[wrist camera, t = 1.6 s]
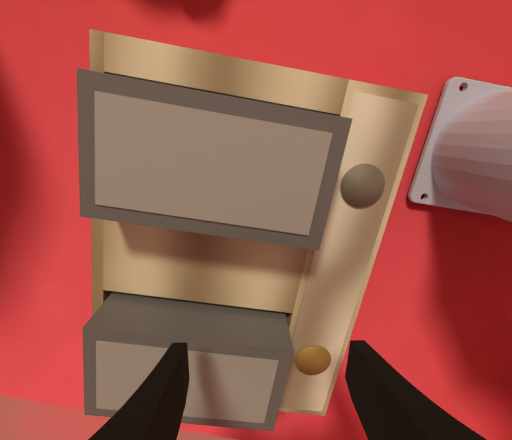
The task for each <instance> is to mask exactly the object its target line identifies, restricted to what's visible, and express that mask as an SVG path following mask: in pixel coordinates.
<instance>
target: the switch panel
mask: <svg viewBox="0 0 512 440" xmlns="http://www.w3.org/2000/svg"><path fill="white" fill-rule="evenodd" d="M89 31H90V71H96V72H101V73H107V74H112V75H117V76H123V77H128V78H134V79H139V80H145V81H150V82H156V83H161V84H167V85H172V86H178V87H183V88H188V89H194V90H199V91H205V92H210V93H216V94H221V95H227V96H232V97H238V98H243V99H248V100H254V101H259V102H265V103H270V104H276V105H281V106H287V107H292V108H298V109H303V110H309V111H314V112H319V113H325V114H330V115H336V116H341V117H347V118H352V123H351V127H350V131H349V135H348V139H347V143H346V147H345V151H344V155H343V159H342V163H341V166H340V170H339V174H338V178H337V182H336V186H335V190H334V194H333V198H332V202H331V206H330V210H329V214H328V218H327V222H326V226H325V230H324V233H323V237H322V241H321V245H320V249H319V250H313V249H306V248H299V247H292V246H285V245H278V244H271V243H264V242H256V241H249V240H242V239H235V238H228V237H221V236H214V235H207V234H200V233H193V232H186V231H179V230H172V229H165V228H158V227H151V226H144V225H137V224H130V223H123V222H116V221H109V220H102V219H95V218H91V228H92V316H93V315H94V314H95V312H96V311H97V310H98V309H99V308H100V306H101V305H102V304H103V303H104V301H105V300H106V299H107V298H108V297H109V295H110V294H111V293H112V292H113V291H115V292H123V293H131V294H139V295H148V296H156V297H164V298H172V299H180V300H188V301H196V302H205V303H213V304H221V305H229V306H237V307H245V308H253V309H262V310H270V311H278V312H285V313H286V318H287V323H288V328H289V332H290V337H291V342H292V346H293V351H294V352H293V356H292V360H291V363H290V367H289V371H288V375H287V379H286V383H285V387H284V391H283V395H282V399H281V403H280V407H279V411H280V412H290V413H301V414H312V415H322V416H325V414H326V410H327V407H328V404H329V401H330V398H331V395H332V392H333V389H334V386H335V382H336V379H337V376H338V373H339V370H340V367H341V364H342V361H343V358H344V355H345V351H346V348H347V345H348V342H349V339H350V336H351V333H352V330H353V327H354V323H355V320H356V317H357V314H358V311H359V308H360V305H361V302H362V299H363V296H364V292H365V289H366V286H367V283H368V280H369V277H370V274H371V271H372V268H373V264H374V261H375V258H376V255H377V252H378V249H379V246H380V243H381V240H382V237H383V233H384V230H385V227H386V224H387V221H388V218H389V215H390V212H391V209H392V205H393V202H394V199H395V196H396V193H397V190H398V187H399V184H400V181H401V178H402V174H403V171H404V168H405V165H406V162H407V159H408V156H409V153H410V150H411V146H412V143H413V140H414V137H415V134H416V131H417V128H418V125H419V122H420V119H421V115H422V112H423V109H424V106H425V103H426V100H427V97H428V95H426V94H421V93H416V92H411V91H406V90H401V89H395V88H390V87H385V86H380V85H375V84H370V83H365V82H360V81H354V80H349V79H344V78H339V77H334V76H329V75H324V74H318V73H313V72H308V71H303V70H298V69H293V68H288V67H282V66H277V65H272V64H267V63H262V62H257V61H252V60H247V59H241V58H236V57H231V56H226V55H221V54H216V53H211V52H205V51H200V50H195V49H190V48H185V47H180V46H175V45H169V44H164V43H159V42H154V41H149V40H144V39H139V38H134V37H128V36H123V35H118V34H113V33H108V32H103V31H98V30H92V29H89Z"/></svg>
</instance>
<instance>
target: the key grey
mask: <svg viewBox="0 0 512 440" xmlns="http://www.w3.org/2000/svg"><path fill="white" fill-rule="evenodd" d="M77 100H78V144H79V188H80V216H81V217H88V218H95V219H102V220H109V221H116V222H123V223H130V224H137V225H144V226H151V227H158V228H165V229H172V230H179V231H186V232H193V233H200V234H207V235H214V236H221V237H228V238H235V239H242V240H249V241H256V242H264V243H271V244H278V245H285V246H292V247H299V248H306V249H313V250H319V249H320V245H321V241H322V237H323V233H324V230H325V226H326V222H327V218H328V214H329V210H330V206H331V202H332V198H333V194H334V190H335V186H336V182H337V178H338V174H339V170H340V166H341V163H342V159H343V155H344V151H345V147H346V143H347V139H348V135H349V131H350V127H351V123H352V118H347V117H341V116H336V115H330V114H325V113H319V112H314V111H309V110H303V109H298V108H292V107H287V106H281V105H276V104H270V103H265V102H259V101H254V100H248V99H243V98H238V97H232V96H227V95H221V94H216V93H210V92H205V91H199V90H194V89H188V88H183V87H178V86H172V85H167V84H161V83H156V82H150V81H145V80H139V79H134V78H128V77H123V76H117V75H112V74H107V73H101V72H96V71H90V70H85V69H79V68H77Z"/></svg>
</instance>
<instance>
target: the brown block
mask: <svg viewBox="0 0 512 440" xmlns="http://www.w3.org/2000/svg"><path fill="white" fill-rule="evenodd" d="M180 342H187V347H188V362H189V378H190V380H189V387H188V393H187V399H186V405H185V409H184V413H183V416H182V420H181V423H186V424H197V425H209V426H220V427H231V428H243V429H254V430H266V431H273V430H274V427H275V423H276V419H277V415H278V411H279V407H280V403H281V399H282V395H283V391H284V387H285V383H286V379H287V375H288V371H289V367H290V363H291V360H292V356H293V352H294V351H293V346H292V342H291V337H290V332H289V328H288V323H287V318H286V313H285V312H278V311H270V310H262V309H253V308H245V307H237V306H229V305H221V304H213V303H205V302H196V301H188V300H180V299H172V298H164V297H156V296H148V295H139V294H131V293H123V292H115V291H113V292H112V293H111V294H110V295H109V297H108V298H107V299H106V300H105V301H104V303H103V304H102V305H101V306H100V308H99V309H98V310H97V311H96V312H95V314H94V315H93V316H92V317H91V318H90V320H89V321H88V322H87V323H86V324H85V326H84V327H83V364H84V408H85V415H95V416H106V417H112V416H113V415H114V414H115V413H116V412H117V411H118V410H119V409H120V408H121V407H122V406H123V405H124V404H125V403H126V401H127V400H128V399H129V398H130V397H131V396H132V394H133V393H134V392H135V391H136V390H137V389H138V388H139V386H140V385H141V384H142V383H143V381H144V380H145V379H146V378H147V376H148V375H149V374H150V373H151V371H152V370H153V369H154V367H155V366H156V365H157V363H158V362H159V361H160V359H161V358H162V357H163V355H164V354H165V352H166V351H167V349H168V348H169V346H170V345H171V344H172V343H180Z"/></svg>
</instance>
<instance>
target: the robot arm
mask: <svg viewBox="0 0 512 440" xmlns="http://www.w3.org/2000/svg"><path fill="white" fill-rule="evenodd" d="M460 84H462V85H463V89H462V91H460V90H459V86H460ZM422 194H425V197H424V198H423V199H421V195H422ZM408 199H409V200H410V201H412V202H414V203H420V204H426V205H432V206H438V207H444V208H451V209H457V210H463V211H469V212H475V213H482V214H488V215H493V216H496V217H499V218H501V219H504V220H507V221H510V222H512V88H511V87H506V86H501V85H496V84H491V83H486V82H481V81H477V80H472V79H467V78H462V77H453V78H450V79H448V80H447V81H446V83H445V85H444V88H443V91H442V94H441V97H440V100H439V103H438V106H437V109H436V112H435V115H434V118H433V121H432V124H431V127H430V130H429V133H428V136H427V139H426V142H425V145H424V148H423V151H422V154H421V157H420V160H419V163H418V166H417V169H416V172H415V175H414V177H413V180H412V183H411V186H410V189H409V192H408ZM345 378H346V382H347V385H348V389H349V392H350V395H351V398H352V402H353V404H354V406H355V409H356V411H357V414H358V416H359V419H360V421H361V423H362V426H363V428H364V430H365V433H366V435H367V437H368V440H486V439H485V438H483V437H482V436H480V435H479V434H477V433H476V432H474V431H473V430H471V429H470V428H468V427H467V426H465V425H464V424H462V423H461V422H459V421H458V420H456V419H455V418H454V417H452V416H451V415H450V414H448V413H447V412H446V411H444V410H443V409H442V408H440V407H439V406H437V405H436V404H435V403H434V402H432V401H431V400H430V399H429V398H427V397H426V396H425V395H424V394H423V393H421V392H420V391H419V390H418V389H416V388H415V387H414V386H413V385H412V384H411V383H409V382H408V381H407V380H406V379H405V378H404V377H403V376H402V375H400V374H399V373H398V372H397V371H396V370H395V369H394V368H393V367H392V366H391V365H390V364H388V363H387V362H386V361H385V360H384V359H383V358H382V357H381V356H380V355H379V354H378V353H377V352H376V351H375V350H374V349H373V348H372V347H371V346H370V345H368V344H367V343H366V342H365V341H364V340H356V341H350V348H349V354H348V361H347V368H346V375H345ZM189 380H190V378H189V362H188V347H187V342H180V343H172V344H171V345H170V346H169V348H168V349H167V351H166V352H165V354H164V355H163V357H162V358H161V359H160V361H159V362H158V363H157V365H156V366H155V367H154V369H153V370H152V371H151V373H150V374H149V375H148V376H147V378H146V379H145V380H144V381H143V383H142V384H141V385H140V386H139V388H138V389H137V390H136V391H135V392H134V393H133V394H132V396H131V397H130V398H129V399H128V400H127V401H126V403H125V404H124V405H123V406H122V407H121V408H120V409H119V410H118V411H117V412H116V413H115V414H114V415H113V416H112V417H111V418H110V419H109V420H108V421H107V422H106V423H105V424H104V425H103V426H102V427H101V428H100V429H99V430H98V431H97V432H96V433H95V434H94V435H93V436H92V437H91V438H90V439H88V440H176V438H177V435H178V431H179V428H180V424H181V420H182V416H183V413H184V409H185V405H186V399H187V393H188V387H189Z"/></svg>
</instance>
